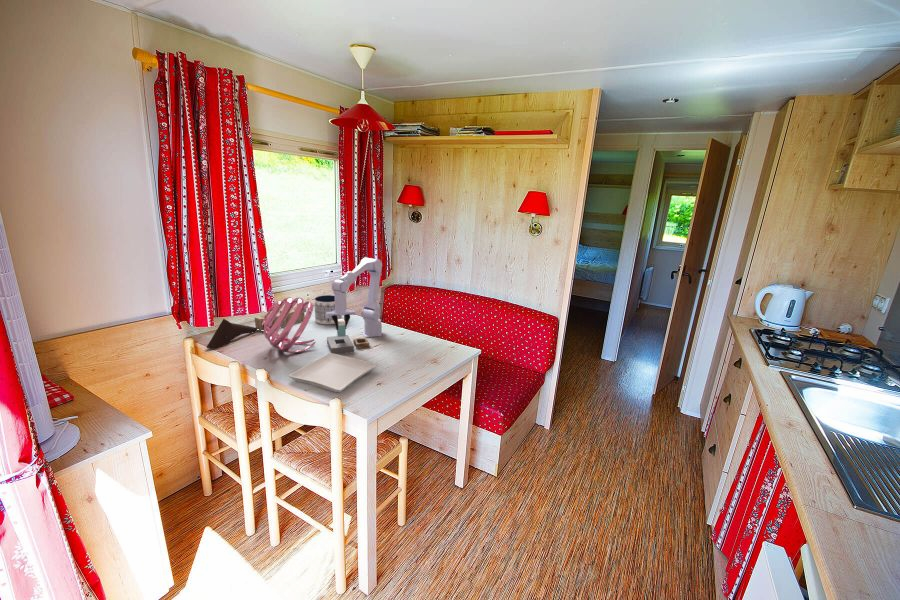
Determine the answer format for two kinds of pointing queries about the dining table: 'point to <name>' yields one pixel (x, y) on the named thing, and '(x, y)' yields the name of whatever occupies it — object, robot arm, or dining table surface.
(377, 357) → the dining table surface
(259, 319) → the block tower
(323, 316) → the planter
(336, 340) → the port block
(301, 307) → the spiral basket
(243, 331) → the holster
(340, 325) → the plug
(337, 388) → the square plate
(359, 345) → the plug holster
